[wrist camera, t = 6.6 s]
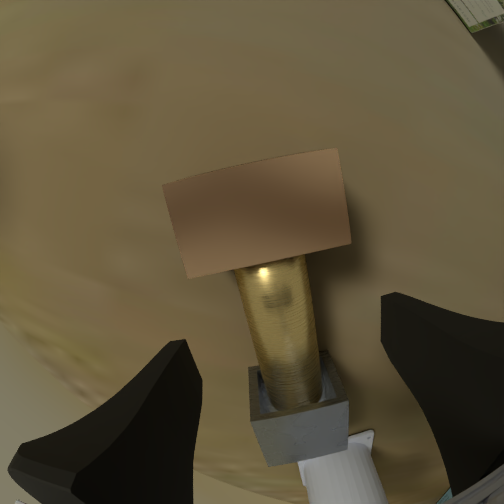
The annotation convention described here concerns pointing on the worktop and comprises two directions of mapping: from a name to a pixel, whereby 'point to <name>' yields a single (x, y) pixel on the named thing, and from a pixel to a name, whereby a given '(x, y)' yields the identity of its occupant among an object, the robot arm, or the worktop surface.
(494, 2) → the syrup box
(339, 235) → the brown rectangular block
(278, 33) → the worktop surface
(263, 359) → the tube
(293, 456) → the sleeve
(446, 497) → the gum box
